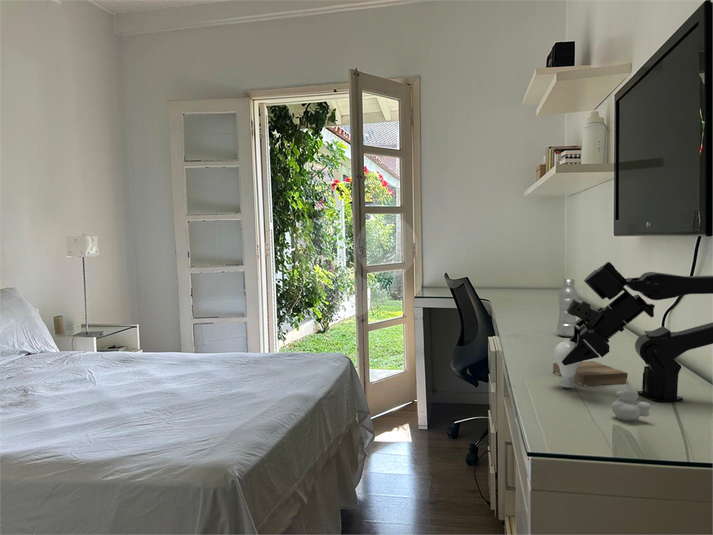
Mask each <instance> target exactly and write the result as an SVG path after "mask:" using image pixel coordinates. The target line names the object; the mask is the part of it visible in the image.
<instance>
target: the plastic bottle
mask: <svg viewBox="0 0 713 535" xmlns="http://www.w3.org/2000/svg"><path fill="white" fill-rule="evenodd" d="M573 299H575V300H577V301H579V292H578V290H577V289H576V288H575V279H571V278H567V279H566V278H564V279H563V281H562V287H561V289H560V290H559V292H558V303H559V304H558V305H559V306H558V308H559V309H558V310H559V311H558V312H559V313H558V314H559V316H558V322H557V324H556V332H557V334H558V336H561V337H564V338H569V337H572V336H573V334H574V325H575V326H576V327H578V326H577V325H576V324H575V322H576V321H577V316H573V315H571V314H569V313H567V309H568V307H569V305H570V303H571V302H572V300H573Z"/></svg>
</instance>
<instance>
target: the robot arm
mask: <svg viewBox="0 0 713 535" xmlns="http://www.w3.org/2000/svg"><path fill="white" fill-rule="evenodd" d="M583 282H584V283H585V284H586V285H587V286H588V287H589V288H590V289H591V290H592V291H593V292H594V293H595V294H596V295H597V296H598V297H599V298H600V299H601V300H605V299H606V298H607V299H608V300H609V301H611V302H610V303H608V304H607V305H606V306H605V307H603V306H602V307H601V306H600V307H599V308H598V309H595V308H592V307H591V304H590V303H589V302H586V301H585V300H583V301H579V300H578V301H577V300H575V299H573V300H572V302H571V303H570V305H569V307H568V309H567V313H569V314H571V315H573V316H576V318H578V319H577V320H576V322H575V324H576V325H577V327H576V326H575V325H574V334H573V336H571V338H570V339H569V340H568V341H572V342H575V343H577V344H576V346H575V347H574V348H573V349H572V350H571V351H570V352H569V353H568V355H567V356H566V357H565V358H564V359H563V360H562V363H563V364H564V365H569V364H573V363H577V362H581V361H582V362H586V361H588V360H592V359H598V358H600V357H601V358H603V357H605V356H606V355H607V354H609V353H610V344H609V342H610V339H611V338H612V337H613V336H615V335H616V334H617V333H619V332H620V333H622V332H623V331H625V327H626V326H627V325H629V324H630V323H631V322H632V321H634V320H635V319H636V318H637V317H639V316H640V315H641V314H643V313H645V314H646V315H647V316H649V318H654V316H655V312H654V309H655V307H656V306H655V304H653V303H647V301H646V300H645V299H644V298H642V296H644V297H645V298H647V299H650V300H652V301H662V300H667V299H673V298H677V297H678V298H679V297H682V296H687V295H708V294H709V295H711V294H712V295H713V275H689V276H688V275H685V276H683V275H678V274H671V273H664V272H663V273H662V272H656V271H655V272H654V271H648V272H644V273H643V274H641V275H640V276H638V277H627V278H625V277H624V276H623V275H622V274H621V273H620V272H619V271H618V270H617V269H616V268H615V266H614V265H613V264H612V263H611V262H610V261H607V262H606V263H604V264H603V265H601V266H600V267H598V268H597V269H594V270H593V271H592V272H591V273H590V274H589V275H587V276H586V278H585V279H584V280H583ZM625 286H626V287H627V288H629V289H630V290H632V291H633V292H638V293H639V294H640V295H641V296H640V295H639V294H635V295H633V294H632V293H630V292H629V290H627V288H625ZM616 296H617V297H616ZM614 298H615V299H614ZM613 299H614V300H613ZM709 345H713V321H712V322H710V323H706V324H701V325H698V326H694V327H691V328H687V329H684V330H681V331H680V330H679V331H671V330H669V329H668V328H667V327H665V326H660V327H658V328H657V329H653V330H644V334H641V335H640V336H639V337H637V339H636V340H635V343H634V348H635V352H636V354H637V355H638V356H639V357H640V358H641V359H642V361H644V364H645V366H643V372H642V385H641V386H642V387H641V390H639V391H638V390H636V391H637V393H638V395H640V396H642V397H645V398H647V399H650V400H652V401H655V402H657V403H665V402H681V401H684V397H682V396H678V387H679V374H680V371H681V369H682V365H681V364H680V363H679V362H678V361H676V358H678V357H680V356H681V355H682V354H684V353H686V352H688V351H691V350H694V349H697V348H702V347H706V346H709Z"/></svg>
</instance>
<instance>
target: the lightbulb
mask: <svg viewBox="0 0 713 535" xmlns="http://www.w3.org/2000/svg"><path fill="white" fill-rule="evenodd" d="M576 344H577V343H575V342H572V341H569V340H564V341H562V342H560V343H558V344H557V345H556V346H555V348H554V351H553V358H554V361H555V363H557V364H558V366H559V368H560V373H561V376H560V377H561V381H560V383H561V384H560V386H561V387H563V388H564V389H566V388H570V389H572V388H573V387H574V383H575V382H574V380H573V379H574V376H575V373H576V370H577V368H578V367H579V366H580V364H581V363H582V362H583V361H581V362H577V363H573V364H569V365H564V364H563V363H562V360H563V359H564V358H565V357H566V356H567V355H568V353H569V352H570V351H571V350H572V349H573V348H574V347H575V346H576Z"/></svg>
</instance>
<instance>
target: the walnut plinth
mask: <svg viewBox="0 0 713 535" xmlns="http://www.w3.org/2000/svg"><path fill="white" fill-rule="evenodd" d="M552 367H553V369H552V373H553V372H556V373H558V374H560V375H561V373H560V368H559V366H558V364H557V363H556V362H554V363H553V366H552ZM626 379H627V380H628V372H625V371H623V370H619V369H617V368H614V367H611V366H610V365H606V364H602V363H600V362H597V361H594V360H593V361H591V360H590V361H582V363H581V364H580V366H579V367H578V368H577V370H576V373H575V376H574V379H573V380H574V381H576V382H578V383H580V384H582V385H592V386H603V385H602V384H609V385H620V384H623V385H625V384H626ZM578 383H577V384H578ZM580 384H579V385H580ZM600 384H601V385H600ZM582 385H581V386H582Z"/></svg>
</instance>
